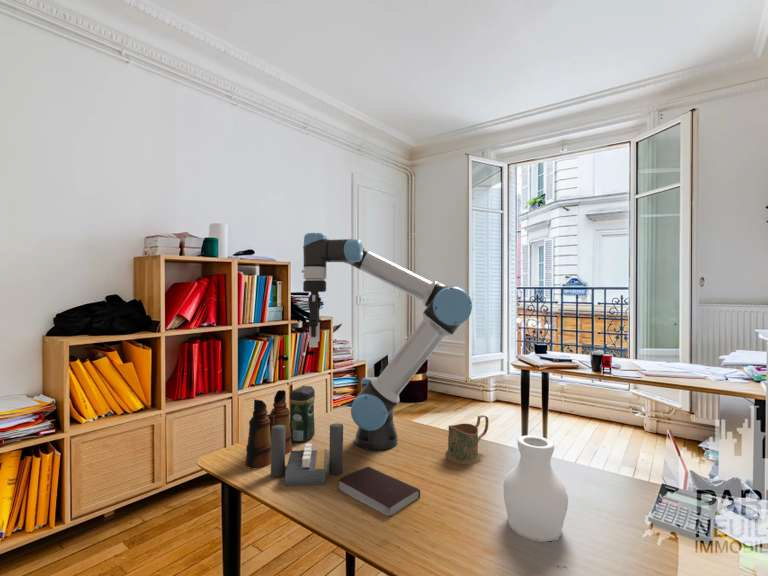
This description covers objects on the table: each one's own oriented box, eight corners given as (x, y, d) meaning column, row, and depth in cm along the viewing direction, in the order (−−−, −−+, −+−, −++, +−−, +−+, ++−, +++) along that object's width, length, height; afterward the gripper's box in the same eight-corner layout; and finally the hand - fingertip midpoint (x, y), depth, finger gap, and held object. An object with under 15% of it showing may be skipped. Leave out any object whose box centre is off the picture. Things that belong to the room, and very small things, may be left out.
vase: (582, 539, 88) (583, 450, 88) (527, 550, 84) (529, 457, 84) (539, 505, 101) (540, 428, 101) (490, 513, 97) (492, 433, 97)
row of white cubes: (311, 451, 122) (311, 443, 122) (309, 467, 111) (309, 458, 111) (305, 451, 122) (305, 443, 122) (302, 467, 111) (302, 459, 111)
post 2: (342, 468, 120) (343, 423, 120) (342, 475, 116) (343, 427, 116) (329, 469, 119) (329, 423, 119) (328, 475, 116) (329, 428, 116)
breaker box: (326, 462, 124) (326, 449, 124) (325, 484, 110) (325, 469, 110) (290, 463, 123) (291, 450, 123) (285, 486, 109) (285, 470, 109)
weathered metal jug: (500, 454, 132) (500, 419, 132) (463, 467, 122) (463, 429, 122) (474, 443, 142) (474, 409, 142) (437, 454, 132) (438, 418, 132)
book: (368, 475, 117) (368, 464, 117) (420, 499, 104) (420, 487, 104) (336, 491, 108) (337, 479, 108) (389, 519, 95) (389, 506, 95)
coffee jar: (298, 432, 150) (299, 383, 150) (317, 434, 148) (318, 385, 148) (285, 441, 141) (286, 389, 141) (305, 444, 138) (305, 391, 138)
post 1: (285, 471, 118) (286, 424, 118) (283, 477, 114) (284, 429, 114) (271, 471, 117) (272, 425, 117) (269, 478, 113) (270, 429, 113)
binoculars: (260, 470, 118) (261, 404, 118) (239, 465, 121) (240, 400, 121) (297, 448, 135) (297, 390, 135) (277, 444, 138) (278, 387, 138)
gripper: (305, 280, 142) (305, 339, 142) (300, 279, 118) (299, 350, 118) (326, 280, 143) (326, 339, 143) (325, 279, 119) (325, 349, 119)
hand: (314, 344), depth 131 cm, fingers open, 13 cm apart
